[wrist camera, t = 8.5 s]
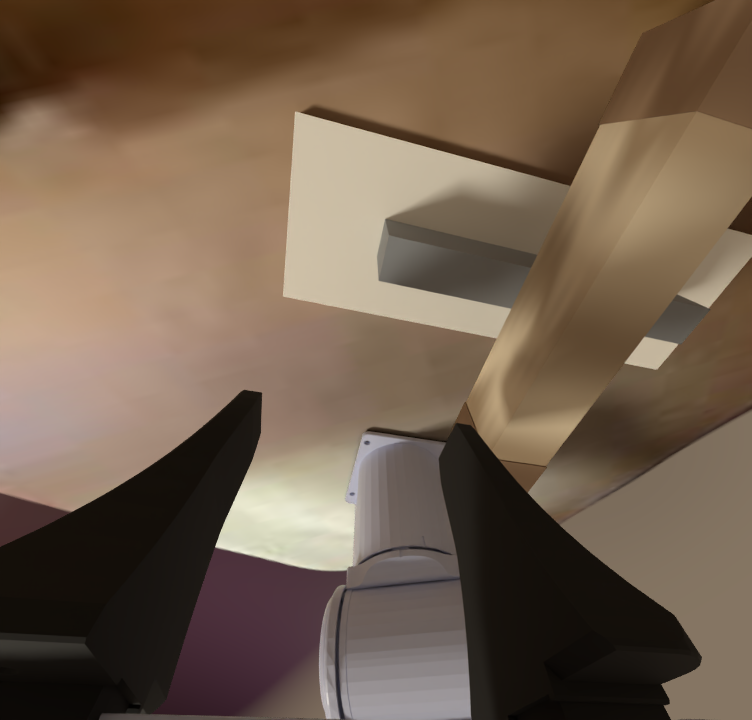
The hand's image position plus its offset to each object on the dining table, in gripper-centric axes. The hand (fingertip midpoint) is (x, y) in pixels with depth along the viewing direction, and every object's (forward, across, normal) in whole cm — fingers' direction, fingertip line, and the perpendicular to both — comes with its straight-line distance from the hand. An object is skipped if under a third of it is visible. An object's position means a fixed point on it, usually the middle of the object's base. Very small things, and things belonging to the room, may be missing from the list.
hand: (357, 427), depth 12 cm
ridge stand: (+10, -8, -5) cm, 14 cm away
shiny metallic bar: (+5, -8, -4) cm, 11 cm away
